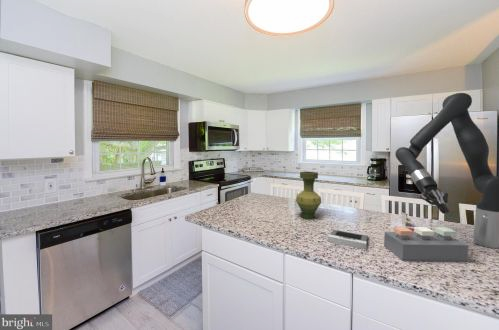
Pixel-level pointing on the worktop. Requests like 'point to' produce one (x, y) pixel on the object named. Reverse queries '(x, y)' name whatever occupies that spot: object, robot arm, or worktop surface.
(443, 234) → the sage key
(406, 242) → the key console
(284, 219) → the worktop surface
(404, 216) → the architectural model
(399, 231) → the terracotta key
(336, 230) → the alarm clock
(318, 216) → the worktop surface
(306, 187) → the vase
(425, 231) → the cream key
